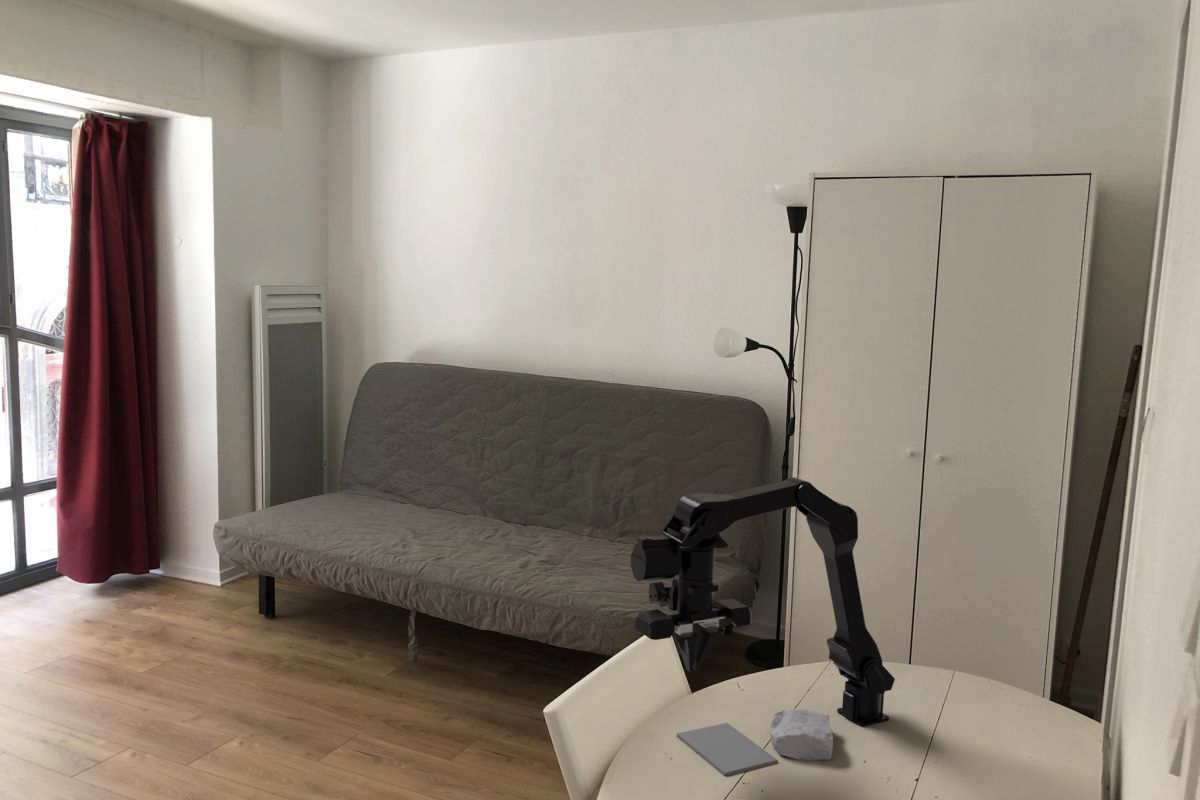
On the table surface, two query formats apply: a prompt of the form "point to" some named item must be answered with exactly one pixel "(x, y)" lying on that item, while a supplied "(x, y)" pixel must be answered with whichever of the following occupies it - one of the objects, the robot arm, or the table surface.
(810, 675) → the table surface
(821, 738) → the stone block
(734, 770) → the mat
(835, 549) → the robot arm
